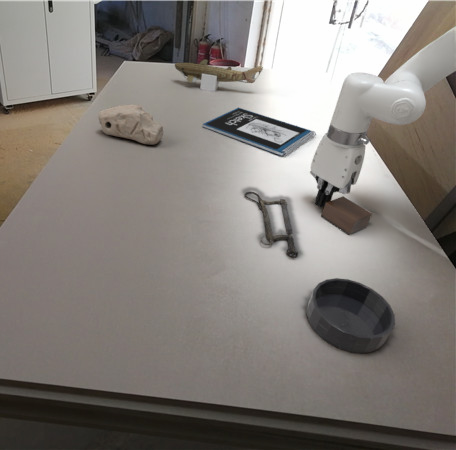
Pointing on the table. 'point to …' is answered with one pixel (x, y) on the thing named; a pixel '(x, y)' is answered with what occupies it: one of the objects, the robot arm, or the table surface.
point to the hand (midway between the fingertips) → (321, 204)
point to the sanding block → (346, 215)
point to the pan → (350, 315)
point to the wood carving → (214, 74)
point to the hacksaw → (292, 248)
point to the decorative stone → (130, 124)
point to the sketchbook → (260, 131)
